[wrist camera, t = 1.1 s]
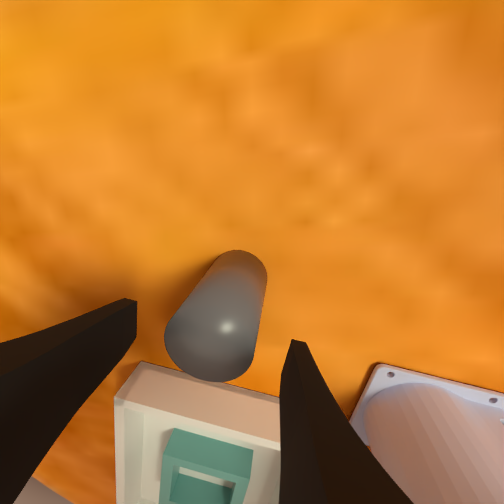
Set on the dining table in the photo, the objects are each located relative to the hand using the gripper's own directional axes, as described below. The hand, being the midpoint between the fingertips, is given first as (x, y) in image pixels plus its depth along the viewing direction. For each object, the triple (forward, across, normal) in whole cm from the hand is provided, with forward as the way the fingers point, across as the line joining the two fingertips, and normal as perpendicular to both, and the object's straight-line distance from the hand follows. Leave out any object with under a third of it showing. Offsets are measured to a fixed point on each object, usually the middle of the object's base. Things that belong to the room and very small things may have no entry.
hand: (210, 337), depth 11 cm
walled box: (+6, -1, +20) cm, 21 cm away
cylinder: (+6, 0, 0) cm, 7 cm away
